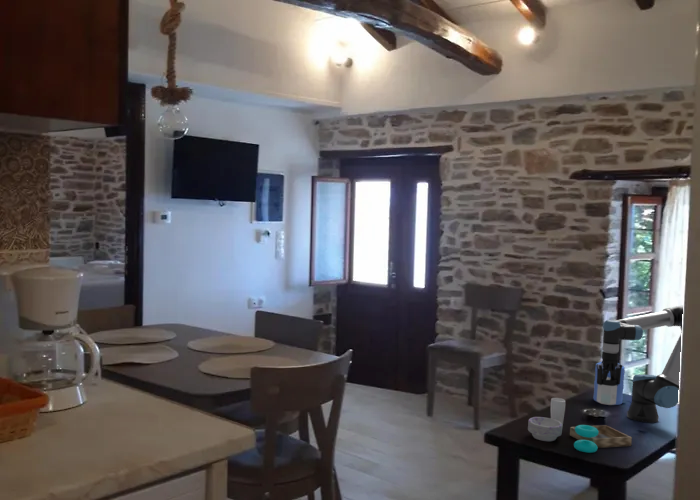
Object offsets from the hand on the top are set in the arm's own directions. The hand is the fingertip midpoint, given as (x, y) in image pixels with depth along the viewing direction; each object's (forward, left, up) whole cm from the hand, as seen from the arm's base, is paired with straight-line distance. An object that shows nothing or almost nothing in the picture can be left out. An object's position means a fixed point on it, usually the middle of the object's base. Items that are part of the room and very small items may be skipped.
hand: (607, 398), depth 333 cm
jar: (+1, 0, -2) cm, 2 cm away
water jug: (-34, -43, -15) cm, 57 cm away
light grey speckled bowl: (+41, +10, -15) cm, 44 cm away
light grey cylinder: (+28, 0, -15) cm, 32 cm away
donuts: (+31, +27, -15) cm, 43 cm away
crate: (+16, +17, -15) cm, 27 cm away
